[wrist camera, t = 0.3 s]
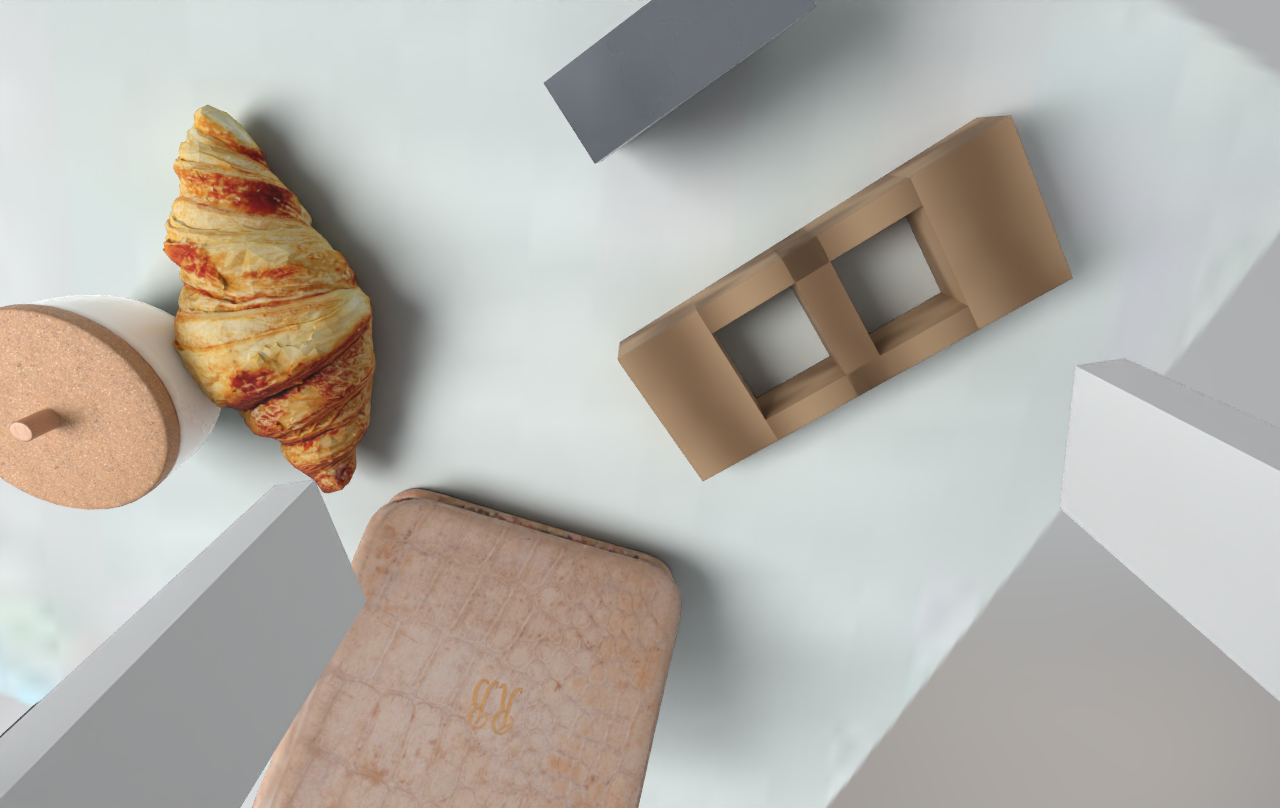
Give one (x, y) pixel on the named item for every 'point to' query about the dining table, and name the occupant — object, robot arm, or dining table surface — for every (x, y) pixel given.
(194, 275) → the croissant
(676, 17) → the grey bridge block
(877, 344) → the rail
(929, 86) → the dining table surface
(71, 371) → the lidded jar
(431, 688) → the case
